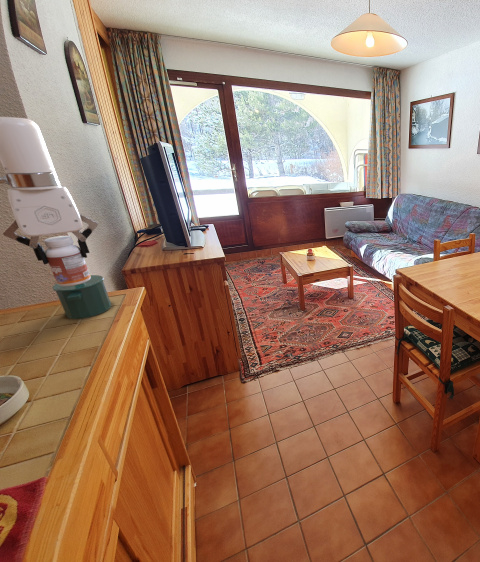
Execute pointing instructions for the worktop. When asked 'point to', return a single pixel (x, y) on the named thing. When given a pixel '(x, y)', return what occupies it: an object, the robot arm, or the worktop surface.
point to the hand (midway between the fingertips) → (66, 258)
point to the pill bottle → (66, 261)
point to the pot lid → (90, 283)
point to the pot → (85, 302)
